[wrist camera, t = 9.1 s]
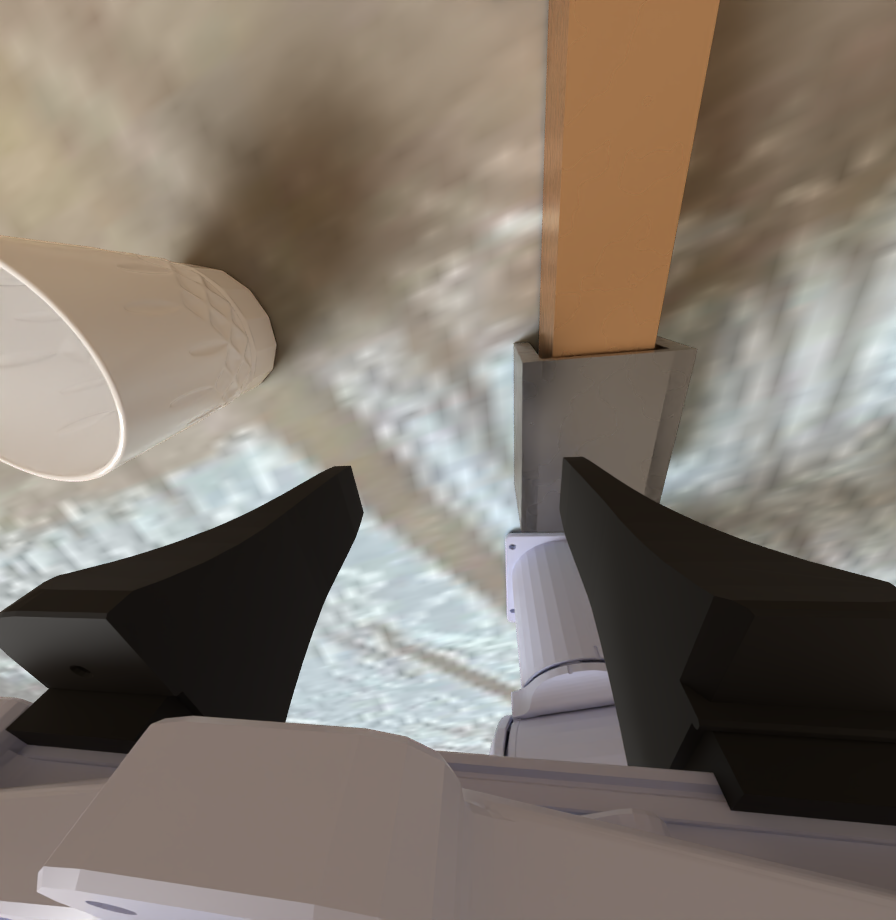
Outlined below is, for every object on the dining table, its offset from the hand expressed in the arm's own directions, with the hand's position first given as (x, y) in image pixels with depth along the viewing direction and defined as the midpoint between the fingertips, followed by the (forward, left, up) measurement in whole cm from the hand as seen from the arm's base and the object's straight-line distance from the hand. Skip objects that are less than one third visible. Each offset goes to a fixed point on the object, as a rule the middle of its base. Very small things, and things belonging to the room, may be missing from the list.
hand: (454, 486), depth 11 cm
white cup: (+5, +14, -10) cm, 18 cm away
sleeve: (-1, -6, -9) cm, 11 cm away
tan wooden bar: (+10, -6, -9) cm, 15 cm away
